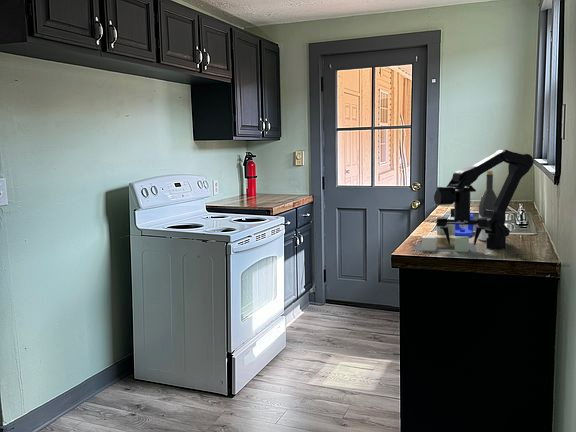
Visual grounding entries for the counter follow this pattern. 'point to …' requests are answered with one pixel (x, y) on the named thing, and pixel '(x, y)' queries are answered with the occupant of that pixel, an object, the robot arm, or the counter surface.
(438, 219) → the robot arm
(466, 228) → the bracket
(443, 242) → the oak base block
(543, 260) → the counter surface
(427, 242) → the cream cube
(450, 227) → the mat
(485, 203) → the wine bottle
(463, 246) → the sage cube
